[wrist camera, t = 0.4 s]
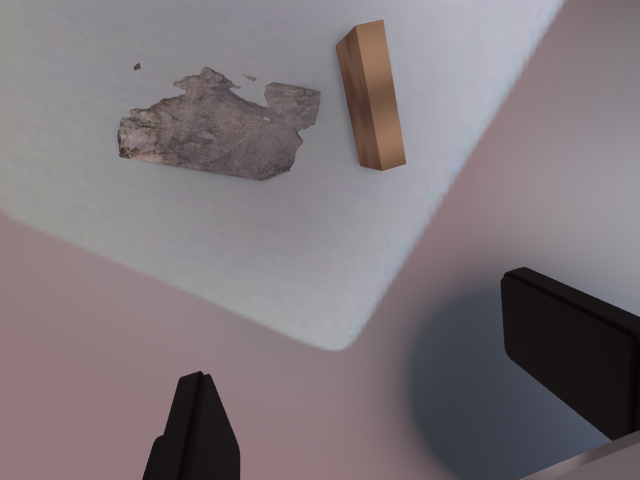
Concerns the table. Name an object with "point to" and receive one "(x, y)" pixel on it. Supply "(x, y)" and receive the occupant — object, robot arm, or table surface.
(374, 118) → the brown wooden block
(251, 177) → the stone slab
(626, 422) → the robot arm
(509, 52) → the table surface
